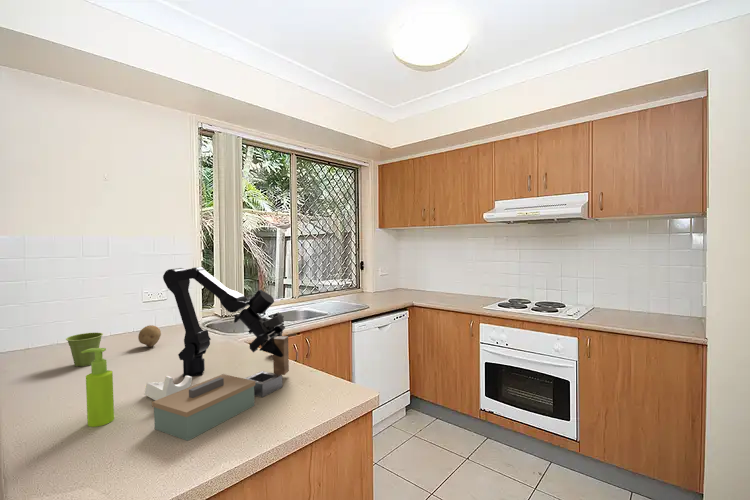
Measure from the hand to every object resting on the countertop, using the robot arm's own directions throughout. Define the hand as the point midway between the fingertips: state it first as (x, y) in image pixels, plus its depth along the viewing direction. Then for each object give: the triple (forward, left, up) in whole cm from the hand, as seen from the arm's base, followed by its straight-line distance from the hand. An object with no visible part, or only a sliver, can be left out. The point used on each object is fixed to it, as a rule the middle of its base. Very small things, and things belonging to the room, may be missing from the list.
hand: (284, 354), depth 135 cm
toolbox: (-22, -21, -8) cm, 31 cm away
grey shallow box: (-8, -8, -8) cm, 14 cm away
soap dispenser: (-51, -15, -8) cm, 54 cm away
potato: (-54, +63, -8) cm, 83 cm away
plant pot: (-73, +45, -8) cm, 86 cm away
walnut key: (-1, +1, -7) cm, 7 cm away
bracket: (-36, -4, -9) cm, 37 cm away
